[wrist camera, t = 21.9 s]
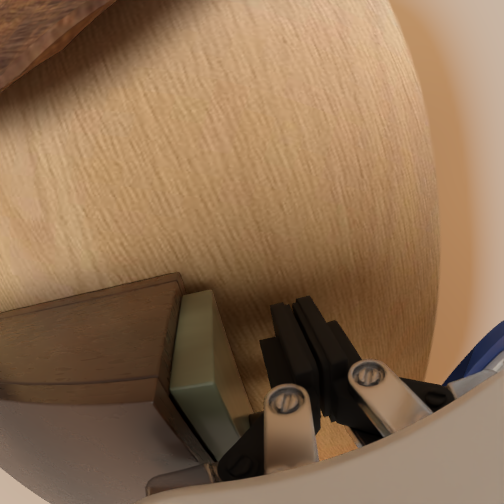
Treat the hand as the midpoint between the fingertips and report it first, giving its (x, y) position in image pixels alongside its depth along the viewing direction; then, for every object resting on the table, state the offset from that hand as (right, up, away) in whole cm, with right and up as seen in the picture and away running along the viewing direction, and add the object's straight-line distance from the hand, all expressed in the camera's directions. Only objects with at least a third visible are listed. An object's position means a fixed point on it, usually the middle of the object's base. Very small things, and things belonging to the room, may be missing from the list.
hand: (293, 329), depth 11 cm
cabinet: (-10, -5, +2) cm, 12 cm away
